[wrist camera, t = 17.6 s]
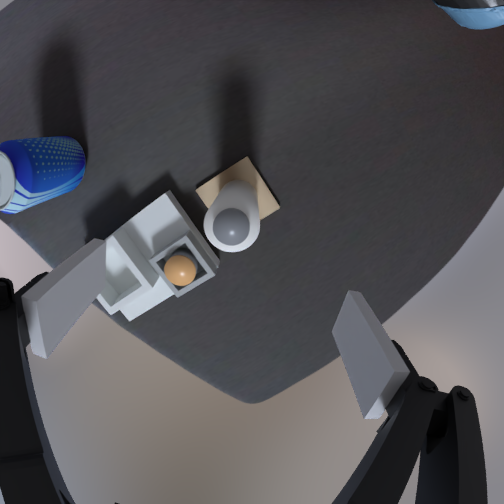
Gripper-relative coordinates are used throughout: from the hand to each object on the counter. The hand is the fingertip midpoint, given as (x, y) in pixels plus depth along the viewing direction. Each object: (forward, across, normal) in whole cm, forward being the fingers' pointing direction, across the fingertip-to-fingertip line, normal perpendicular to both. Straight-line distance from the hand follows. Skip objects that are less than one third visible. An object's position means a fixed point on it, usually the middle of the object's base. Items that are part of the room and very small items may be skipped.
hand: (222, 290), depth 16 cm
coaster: (+26, 0, 0) cm, 26 cm away
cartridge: (+26, 0, 0) cm, 26 cm away
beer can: (+26, -26, 0) cm, 37 cm away
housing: (+26, -11, -11) cm, 31 cm away
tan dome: (+23, -5, -9) cm, 26 cm away
